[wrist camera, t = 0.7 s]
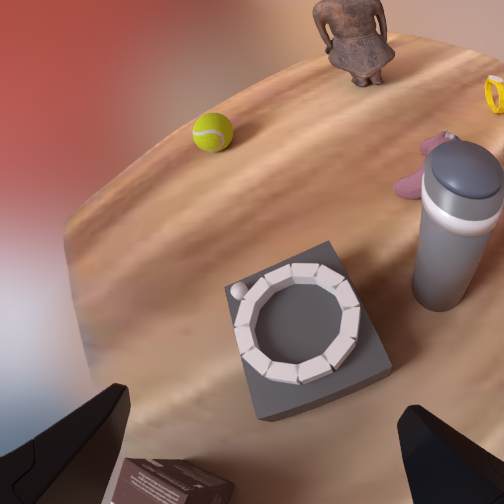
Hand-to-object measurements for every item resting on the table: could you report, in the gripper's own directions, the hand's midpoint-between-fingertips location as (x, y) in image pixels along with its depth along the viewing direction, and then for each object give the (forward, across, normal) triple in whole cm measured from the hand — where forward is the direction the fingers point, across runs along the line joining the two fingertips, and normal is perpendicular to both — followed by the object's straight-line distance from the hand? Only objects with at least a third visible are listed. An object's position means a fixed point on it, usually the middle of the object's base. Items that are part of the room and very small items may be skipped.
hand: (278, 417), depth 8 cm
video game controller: (+24, -19, -9) cm, 32 cm away
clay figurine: (+47, -18, -27) cm, 57 cm away
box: (+6, +2, +20) cm, 21 cm away
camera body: (+15, -5, +7) cm, 17 cm away
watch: (+30, -36, -26) cm, 53 cm away
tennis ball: (+45, +6, -8) cm, 46 cm away
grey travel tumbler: (+14, -16, 0) cm, 21 cm away
